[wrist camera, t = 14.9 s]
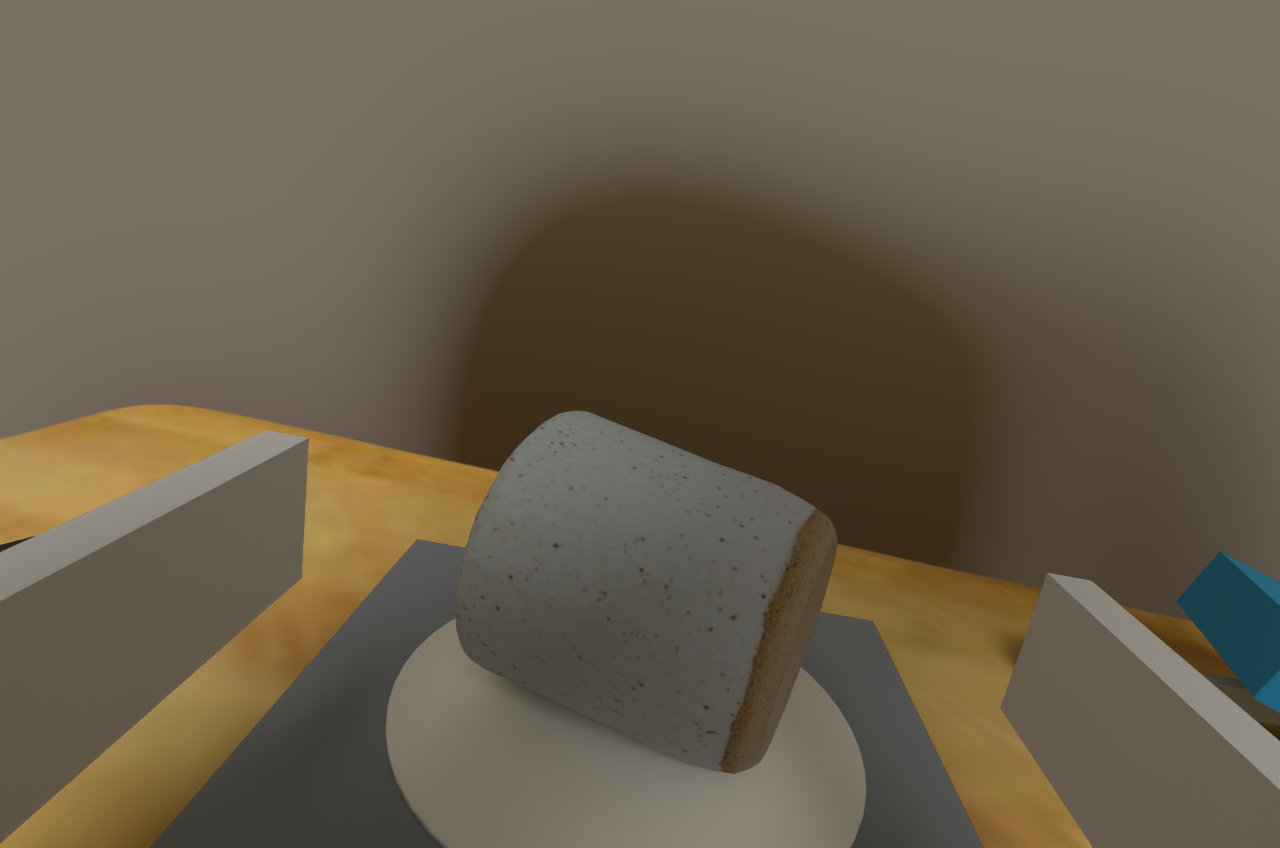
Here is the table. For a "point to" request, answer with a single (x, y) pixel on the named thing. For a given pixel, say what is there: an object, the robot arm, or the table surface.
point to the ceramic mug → (645, 588)
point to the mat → (558, 753)
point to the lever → (1240, 632)
